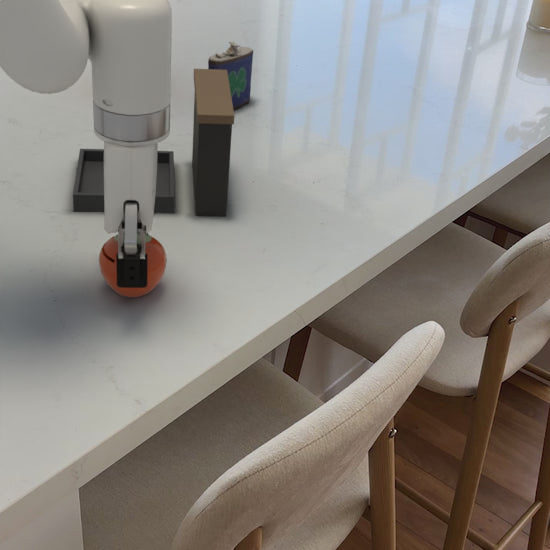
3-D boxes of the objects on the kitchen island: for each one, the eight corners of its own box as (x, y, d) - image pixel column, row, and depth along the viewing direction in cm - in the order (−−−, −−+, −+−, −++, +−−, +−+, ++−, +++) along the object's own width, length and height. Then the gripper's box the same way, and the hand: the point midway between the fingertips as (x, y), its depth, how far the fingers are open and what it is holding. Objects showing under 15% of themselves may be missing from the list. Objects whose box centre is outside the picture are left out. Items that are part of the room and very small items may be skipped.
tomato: (91, 275, 101) (89, 215, 96) (154, 264, 104) (155, 205, 99) (109, 313, 96) (108, 251, 91) (175, 300, 98) (176, 240, 94)
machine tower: (193, 216, 114) (197, 114, 106) (190, 164, 125) (193, 68, 117) (228, 217, 114) (234, 115, 106) (221, 164, 126) (227, 69, 118)
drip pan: (73, 211, 112) (72, 194, 111) (80, 164, 123) (80, 148, 121) (174, 212, 114) (174, 196, 113) (173, 166, 124) (173, 151, 123)
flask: (242, 97, 146) (246, 33, 140) (255, 103, 145) (260, 39, 138) (202, 112, 140) (205, 46, 134) (215, 118, 139) (219, 52, 132)
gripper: (98, 81, 95) (102, 222, 104) (87, 156, 80) (93, 312, 90) (169, 83, 96) (166, 223, 105) (171, 158, 81) (168, 312, 91)
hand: (133, 263), depth 98 cm, fingers closed on tomato, 7 cm apart
